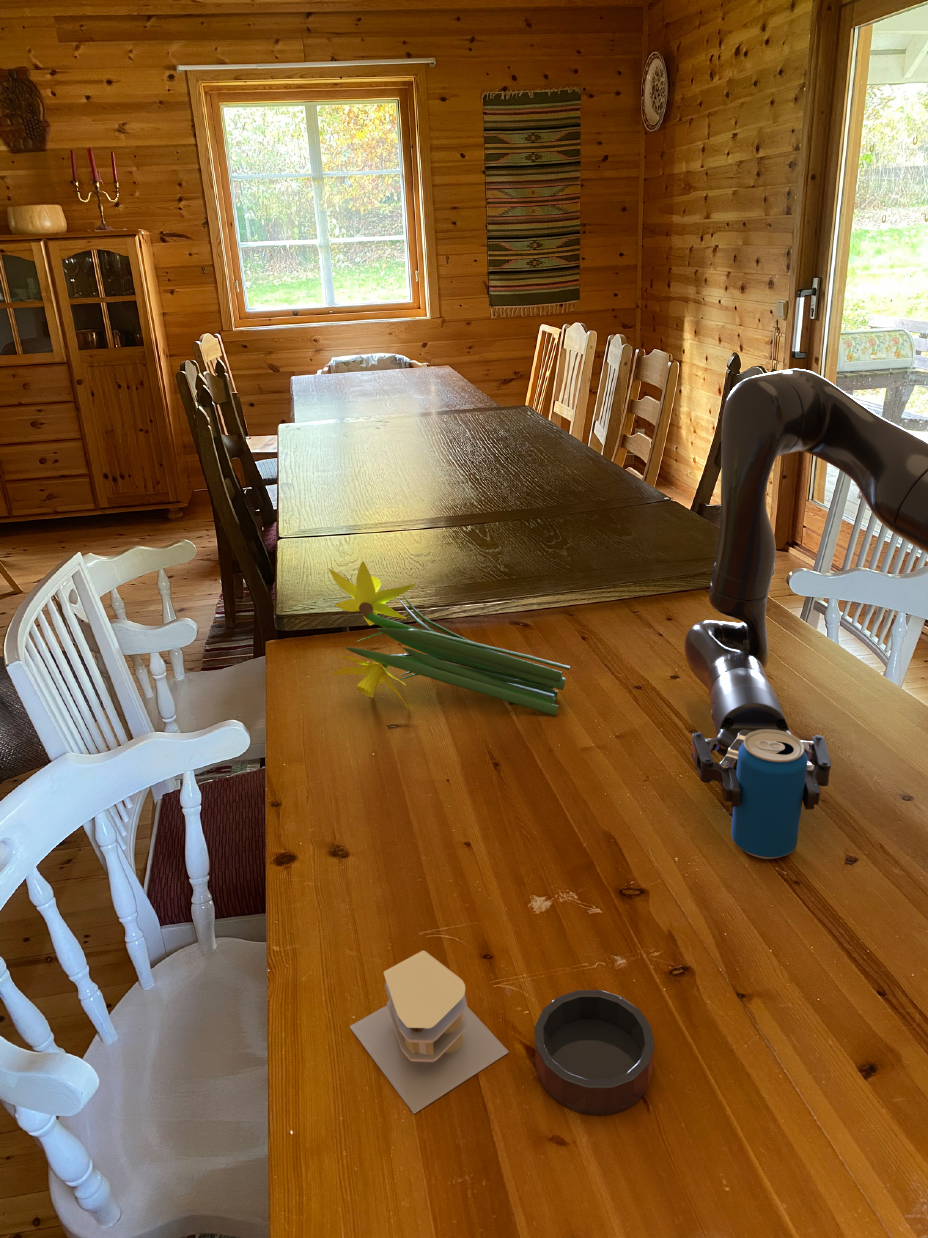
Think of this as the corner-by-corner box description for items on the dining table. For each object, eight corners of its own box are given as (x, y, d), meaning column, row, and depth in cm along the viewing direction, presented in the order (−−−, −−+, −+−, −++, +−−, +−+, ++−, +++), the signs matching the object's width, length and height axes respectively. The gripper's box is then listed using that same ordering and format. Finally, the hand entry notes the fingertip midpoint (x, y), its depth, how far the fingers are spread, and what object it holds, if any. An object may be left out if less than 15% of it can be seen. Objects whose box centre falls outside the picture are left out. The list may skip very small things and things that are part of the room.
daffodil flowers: (546, 754, 113) (280, 672, 116) (543, 750, 127) (306, 677, 130) (584, 624, 114) (321, 546, 117) (577, 634, 129) (342, 565, 132)
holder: (664, 1037, 73) (666, 1010, 72) (634, 1133, 66) (635, 1105, 65) (558, 1003, 77) (557, 976, 76) (518, 1091, 69) (517, 1063, 68)
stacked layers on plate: (349, 1027, 76) (342, 977, 73) (439, 975, 80) (435, 927, 78) (414, 1114, 68) (408, 1062, 66) (509, 1052, 73) (507, 1001, 70)
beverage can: (795, 869, 90) (808, 767, 85) (727, 857, 93) (736, 757, 88) (797, 830, 96) (809, 732, 91) (733, 819, 98) (742, 723, 93)
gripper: (683, 683, 104) (700, 766, 89) (816, 685, 102) (856, 771, 87) (680, 740, 107) (696, 829, 92) (808, 743, 105) (846, 835, 90)
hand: (773, 800), depth 89 cm, fingers closed on beverage can, 6 cm apart
